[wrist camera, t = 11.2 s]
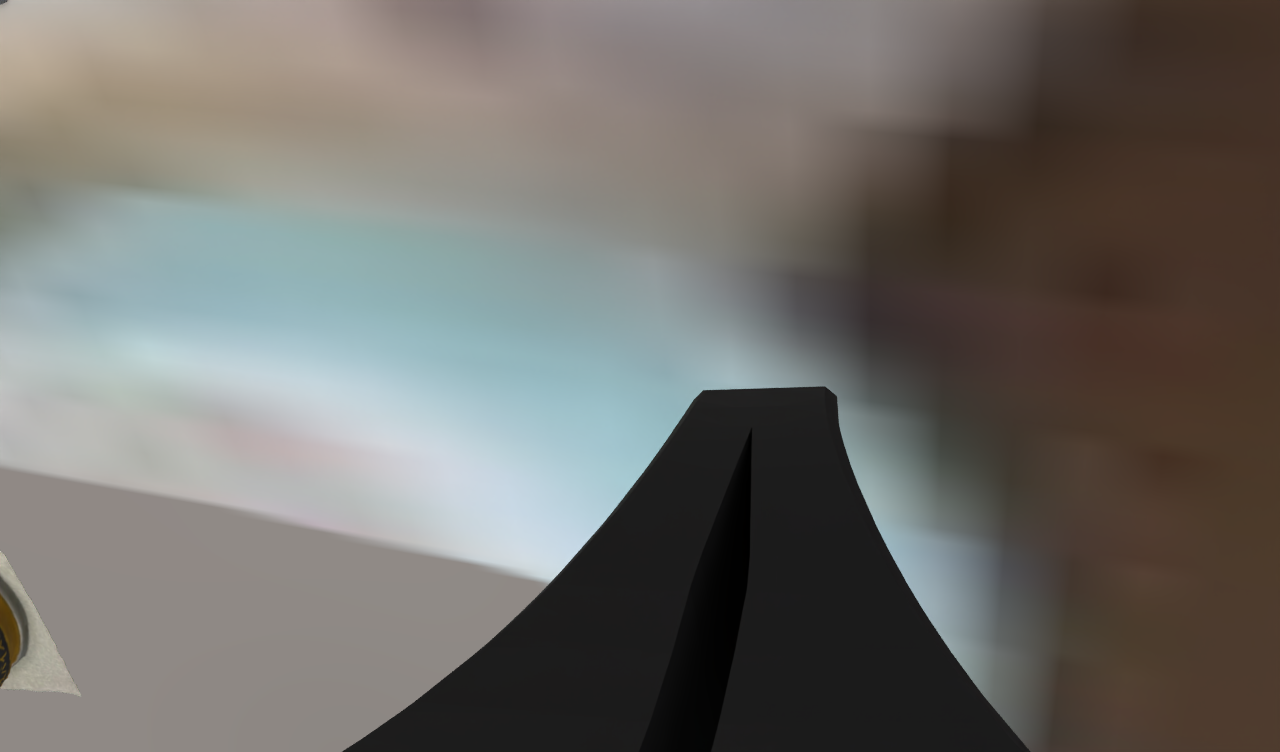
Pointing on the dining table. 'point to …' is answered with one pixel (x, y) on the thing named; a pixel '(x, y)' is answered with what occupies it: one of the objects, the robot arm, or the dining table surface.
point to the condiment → (27, 642)
